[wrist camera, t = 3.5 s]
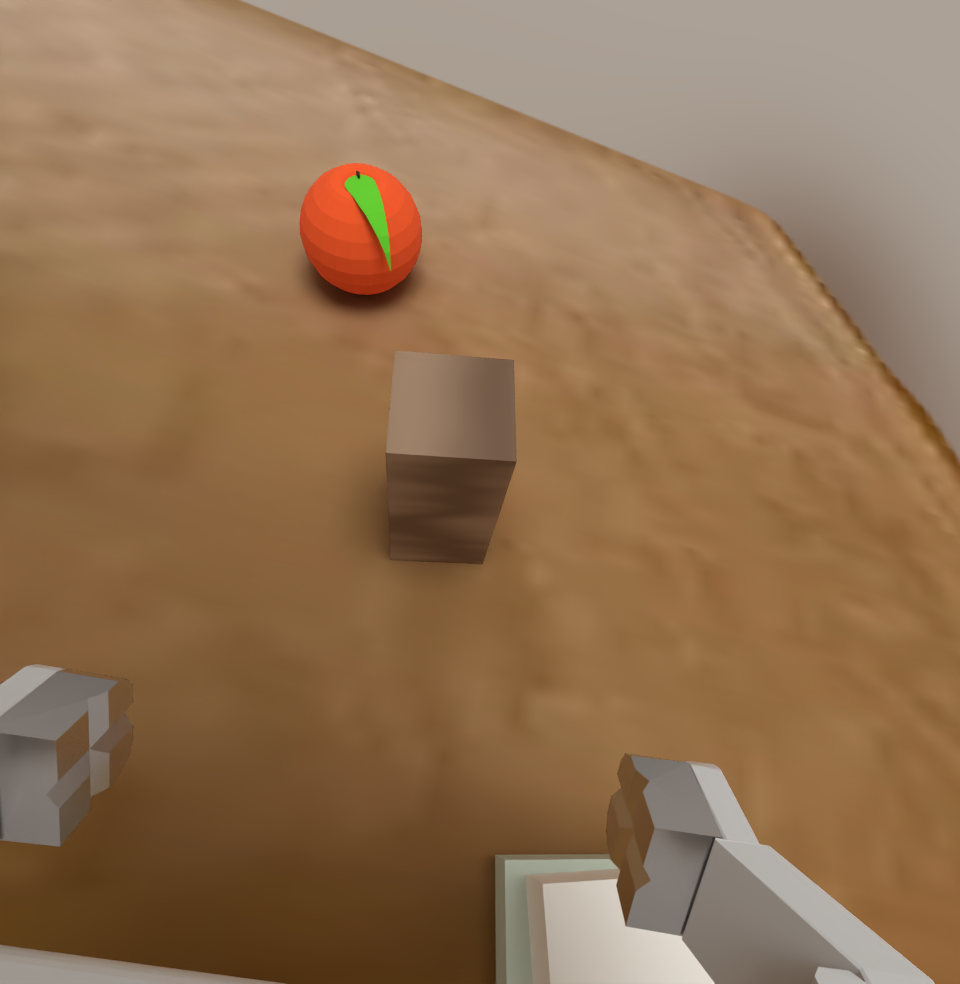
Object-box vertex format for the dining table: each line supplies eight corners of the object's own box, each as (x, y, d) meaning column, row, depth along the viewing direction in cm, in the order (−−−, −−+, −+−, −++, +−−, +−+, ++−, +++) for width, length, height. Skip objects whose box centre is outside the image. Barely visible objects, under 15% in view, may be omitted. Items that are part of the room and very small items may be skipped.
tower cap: (540, 1101, 19) (563, 1150, 16) (525, 874, 21) (542, 884, 19) (721, 1081, 19) (771, 1124, 17) (684, 864, 22) (722, 871, 20)
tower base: (495, 1087, 21) (508, 1127, 18) (493, 854, 24) (504, 859, 22) (686, 1078, 22) (726, 1116, 19) (660, 853, 25) (690, 858, 22)
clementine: (445, 315, 37) (454, 214, 31) (337, 345, 35) (322, 244, 29) (395, 230, 40) (394, 123, 34) (293, 253, 38) (271, 144, 32)
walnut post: (390, 559, 29) (385, 453, 20) (397, 479, 31) (395, 350, 22) (482, 564, 29) (516, 461, 21) (482, 484, 32) (513, 360, 23)
